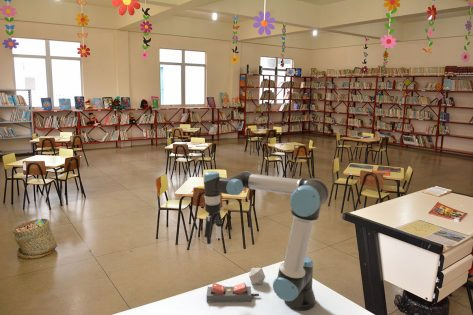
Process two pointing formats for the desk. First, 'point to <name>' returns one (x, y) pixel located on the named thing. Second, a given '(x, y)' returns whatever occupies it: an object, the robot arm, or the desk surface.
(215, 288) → the rocker
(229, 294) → the power strip
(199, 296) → the desk surface
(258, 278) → the die
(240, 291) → the rocker
